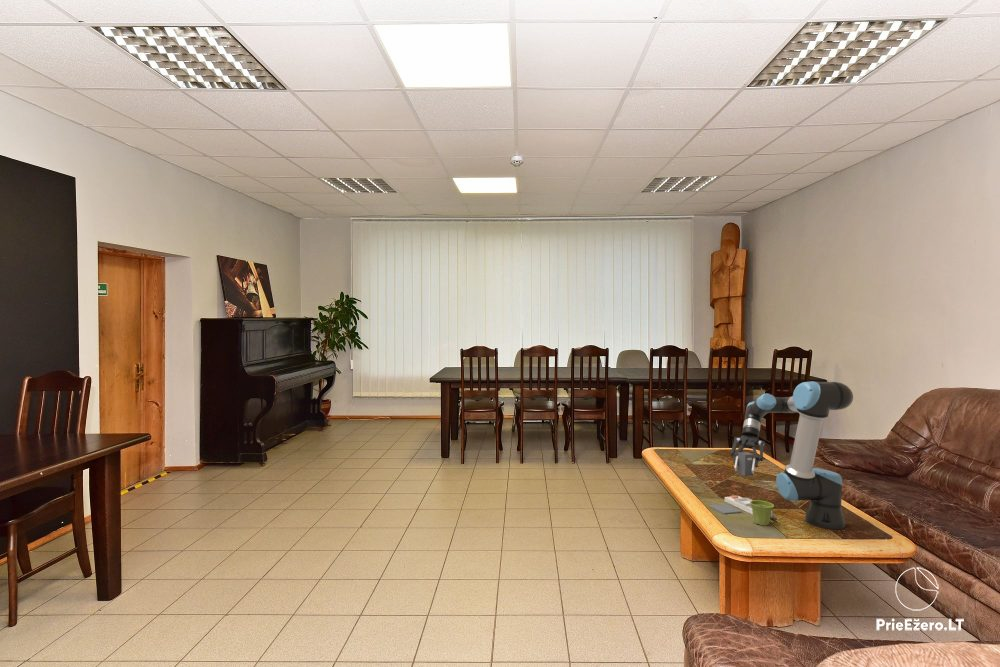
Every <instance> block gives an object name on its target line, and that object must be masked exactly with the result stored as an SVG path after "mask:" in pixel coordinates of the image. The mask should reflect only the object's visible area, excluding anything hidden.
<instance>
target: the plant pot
mask: <svg viewBox="0 0 1000 667" xmlns="http://www.w3.org/2000/svg"><path fill="white" fill-rule="evenodd" d="M752 500H753V501H750V504H751V507H752V512H753V515H752V519H753V523H754V524H756V525H760V526H768V525H770V522H771V518H770V516H771V511H773V508H774V507H775V505H774V503H771V502H769V501H767V500H760V499H759V500H758V499H755V500H754V499H752Z"/></svg>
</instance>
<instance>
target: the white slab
mask: <svg viewBox="0 0 1000 667" xmlns="http://www.w3.org/2000/svg"><path fill="white" fill-rule="evenodd" d="M753 500H754V499H751V498H749V497H742V496H740V495H736V494H735V495H734V494H733V495H730V496H725V497H724V502H726V504H728V505H731V506H733V507H735V508H737V509H739V510H741V511H745V512H747V513H748V514H751V515H752V516H753V512H752V507H751V504H750V501H753ZM773 513H774V512H773V510H772V511H771V516H770V520H774V521H777V520H778V518H777V517H775V516H773V515H774V514H773Z"/></svg>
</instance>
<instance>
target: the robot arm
mask: <svg viewBox="0 0 1000 667" xmlns="http://www.w3.org/2000/svg"><path fill="white" fill-rule="evenodd" d="M853 401H854V392H853V391H852V389H851V388H850V387H849V386H848V385H847V384H844V383H842V382H837V381H813V380H812V381H804V382H801V383H799V384H798V385H797V386H796V387H795V389H794V390H793V394H792V396H788V397H787V396H785V397H779V396H778V397H776V396H774V395H773V394H771V393H763V394H761V395H760V396H759V397H757V399H756V400H754V401H750V402H749V403H747V405H746V409H745V415H744V421H743V425H742V431H741V436H740V437H737V436H735V437H733V444H732V446H731V447H732V448H731V451H730V457H732V458H733V460H732V462H733V464H734V466H733V467H734V468H733V469H734V471H736V472H738V452H743V450H744V449H746V448H752V452H753V454H754V459H753V465H752V473H753V475H754V474H755V470H756V469H755V468H757V467H758V466H759V462H760V461H761V462H763V461H764V447H765V443H766V442H765V441H764V440H759V437H760V436H759V435H760V431H761V425H762V419H763V418H764V417H765V416H766V415H767V414H769V413H770V414H772V413H774V414H777V413H779V414H781V413H784V414H797V413H798V414H799V417H798V422H797V428H796V432H795V438H794V441H793V447H792V452H791V456H790V461H789V464H787V465H785V467H784V471H783V472H779V473H778V474H777V475H776V487H777V490H778V492H779V494H780V496H781V497H782V498H784V499H785V500H787V501H795V502H797V501H810V504H809V506H808V507H807V510H806V513H805V515H804V516H805V518H804V519H805V520H804V521H805V522H807V523H808V524H810V525H812V526H815V527H818V528H823V529H828V530H843V529H845V528H846V519H845V518H844V514H843V511H842V496H843V495H842V492H843V477H842V476H841V474H839V473H837V472H835V471H831V470H828V469H824V468H818V467H813V466H814V464H815V463H814V462H815V458H816V454H817V451H818V450H817V449H818V445H819V440H820V436H821V430H822V426H823V422H824V420H825V419H827V418H829V415H830V414H829V413H830V411H837V410H838V411H840V410H844V409H846V408H848V407H849V406H850V405H851V404H852V403H853ZM739 442H741V443H740V445H739V446H738V443H739ZM757 445H759V456H758V452H757V449H756V446H757ZM737 446H738V447H737ZM844 527H845V528H844Z"/></svg>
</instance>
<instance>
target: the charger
mask: <svg viewBox="0 0 1000 667" xmlns="http://www.w3.org/2000/svg"><path fill="white" fill-rule="evenodd" d="M754 458H755V456H754V453H751V452H748V451H742V452H738V466H737V471H736V473H737V474H738V475H741V476H744V477H752V476H754V474H753V473H752V465H753V459H754Z"/></svg>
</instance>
